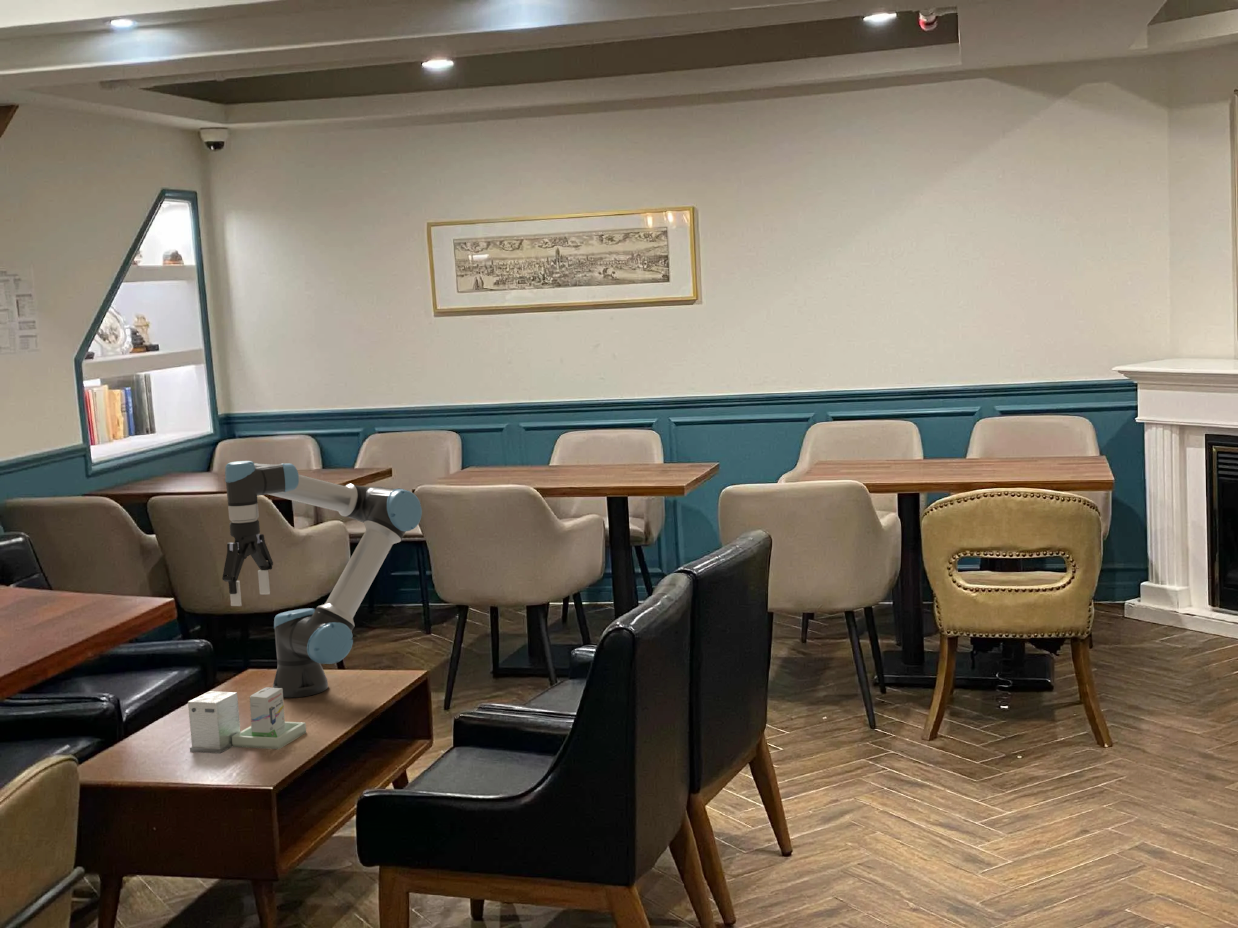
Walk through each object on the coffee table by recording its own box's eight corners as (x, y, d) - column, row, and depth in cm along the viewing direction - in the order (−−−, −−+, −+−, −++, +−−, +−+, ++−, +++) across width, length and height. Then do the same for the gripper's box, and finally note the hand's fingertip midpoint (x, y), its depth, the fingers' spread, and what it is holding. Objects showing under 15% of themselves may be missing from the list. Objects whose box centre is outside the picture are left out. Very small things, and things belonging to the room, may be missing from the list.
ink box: (268, 731, 334) (264, 686, 333) (286, 732, 333) (283, 686, 332) (251, 742, 326) (247, 696, 325) (270, 743, 325) (266, 696, 324)
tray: (261, 729, 338) (260, 720, 338) (306, 732, 334) (305, 722, 334) (232, 746, 326) (231, 736, 325) (278, 749, 322) (277, 738, 321)
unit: (213, 738, 333) (209, 690, 332) (243, 739, 330) (239, 691, 329) (190, 751, 324) (185, 702, 322) (220, 753, 321) (215, 703, 320)
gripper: (257, 512, 357) (264, 589, 359) (203, 528, 333) (211, 610, 336) (282, 512, 355) (288, 589, 357) (229, 528, 331) (236, 610, 333)
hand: (250, 599), depth 346 cm, fingers open, 13 cm apart
